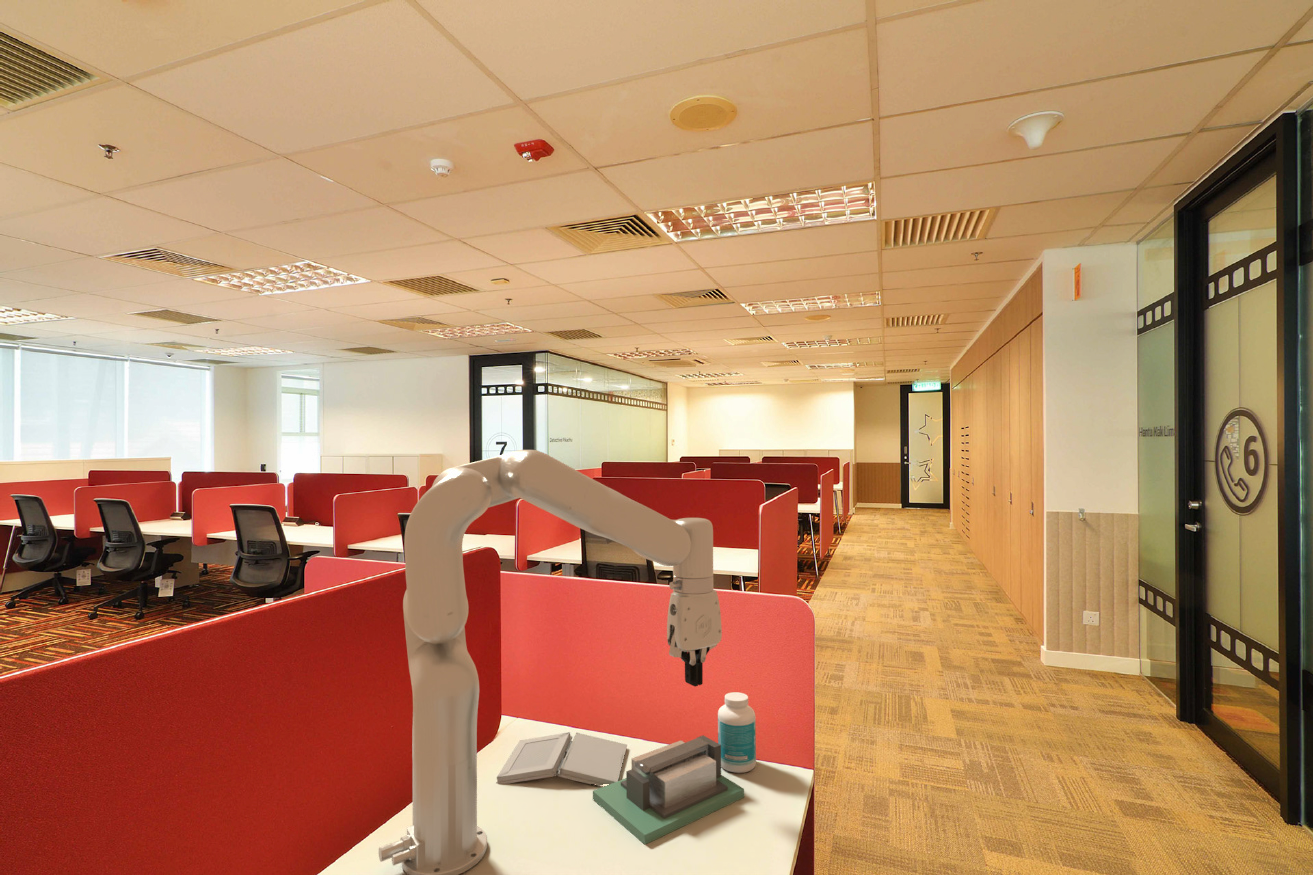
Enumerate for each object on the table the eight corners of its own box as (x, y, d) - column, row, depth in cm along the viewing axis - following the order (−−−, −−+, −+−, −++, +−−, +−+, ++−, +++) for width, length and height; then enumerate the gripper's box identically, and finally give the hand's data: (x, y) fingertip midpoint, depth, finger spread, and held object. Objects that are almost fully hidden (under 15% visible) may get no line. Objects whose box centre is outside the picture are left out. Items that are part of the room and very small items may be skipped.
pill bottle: (763, 770, 121) (762, 700, 121) (729, 777, 118) (728, 706, 118) (744, 752, 128) (743, 686, 128) (711, 759, 125) (711, 692, 125)
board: (644, 844, 98) (644, 797, 98) (592, 799, 111) (592, 757, 111) (744, 797, 111) (743, 755, 112) (687, 761, 124) (687, 724, 124)
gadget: (627, 750, 130) (627, 732, 130) (617, 790, 115) (617, 770, 115) (519, 747, 132) (519, 730, 132) (495, 786, 117) (495, 766, 117)
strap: (645, 784, 106) (645, 768, 106) (635, 776, 109) (634, 761, 109) (709, 757, 115) (709, 743, 115) (698, 750, 118) (697, 736, 118)
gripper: (674, 594, 108) (674, 699, 108) (736, 582, 117) (736, 680, 117) (649, 586, 114) (649, 686, 114) (709, 576, 123) (710, 669, 123)
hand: (693, 683), depth 115 cm, fingers closed
